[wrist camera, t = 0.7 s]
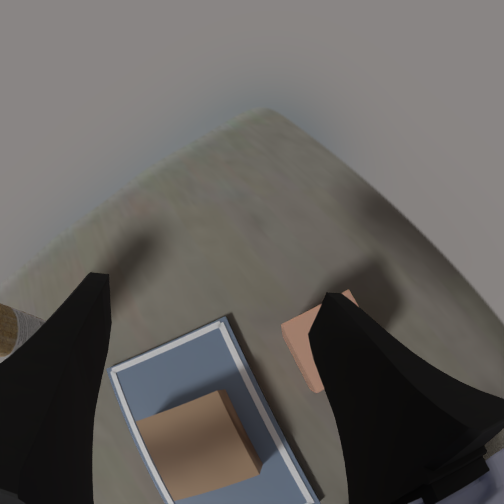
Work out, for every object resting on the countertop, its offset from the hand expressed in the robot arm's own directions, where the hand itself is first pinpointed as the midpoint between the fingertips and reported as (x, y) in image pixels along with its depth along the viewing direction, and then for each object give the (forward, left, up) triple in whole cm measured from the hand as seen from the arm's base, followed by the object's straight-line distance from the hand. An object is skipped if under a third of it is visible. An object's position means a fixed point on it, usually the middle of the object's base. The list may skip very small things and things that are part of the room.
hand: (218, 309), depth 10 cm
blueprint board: (-5, +7, -17) cm, 19 cm away
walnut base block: (-5, +7, -17) cm, 19 cm away
